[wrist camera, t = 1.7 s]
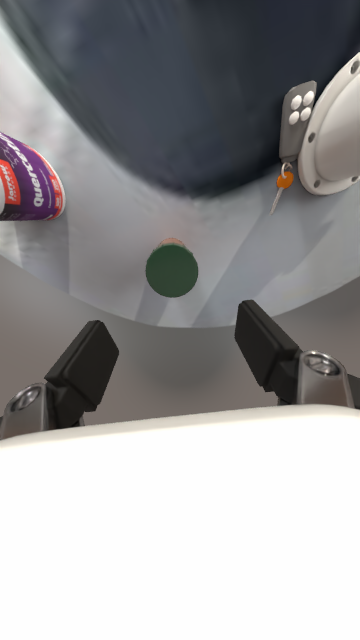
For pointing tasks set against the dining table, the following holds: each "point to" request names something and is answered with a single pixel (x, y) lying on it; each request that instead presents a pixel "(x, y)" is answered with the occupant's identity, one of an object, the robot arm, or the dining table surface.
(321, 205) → the dining table surface
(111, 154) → the dining table surface
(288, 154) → the key chain
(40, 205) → the pill bottle
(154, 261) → the lid
